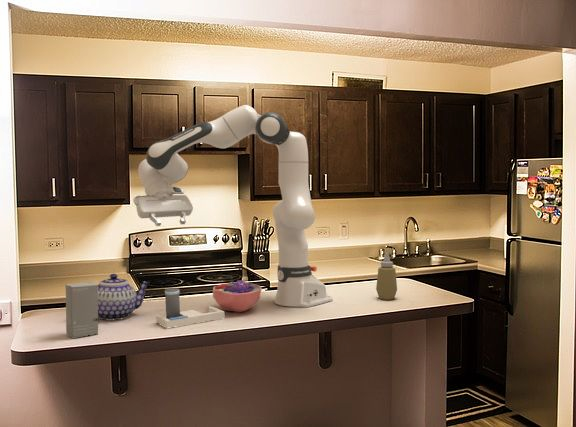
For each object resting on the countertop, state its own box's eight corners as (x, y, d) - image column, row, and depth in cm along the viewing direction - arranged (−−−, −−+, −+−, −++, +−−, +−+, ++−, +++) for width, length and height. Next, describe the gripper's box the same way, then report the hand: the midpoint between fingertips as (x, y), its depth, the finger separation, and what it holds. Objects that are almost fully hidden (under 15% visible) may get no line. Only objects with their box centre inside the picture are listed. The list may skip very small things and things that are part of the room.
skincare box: (72, 339, 179) (70, 287, 178) (65, 333, 185) (63, 283, 184) (100, 334, 184) (98, 284, 183) (92, 329, 190) (91, 280, 188)
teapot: (77, 326, 194) (75, 280, 192) (74, 315, 208) (73, 272, 206) (155, 318, 203) (154, 274, 202) (147, 308, 217) (146, 267, 216)
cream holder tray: (212, 313, 209) (212, 305, 209) (224, 318, 202) (224, 310, 202) (156, 323, 197) (156, 314, 197) (166, 328, 190) (166, 319, 190)
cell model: (250, 302, 226) (250, 272, 225) (268, 314, 208) (268, 282, 207) (206, 306, 220) (206, 276, 219) (221, 319, 202) (221, 286, 201)
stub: (177, 319, 200) (175, 287, 199) (183, 322, 196) (181, 289, 195) (163, 322, 197) (162, 289, 196) (169, 325, 193) (168, 292, 192)
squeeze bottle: (397, 301, 226) (397, 254, 225) (375, 300, 227) (376, 254, 226) (396, 296, 234) (397, 251, 233) (376, 295, 235) (376, 250, 234)
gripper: (134, 190, 210) (145, 220, 202) (187, 188, 221) (199, 216, 214) (129, 202, 214) (140, 231, 206) (182, 200, 225) (194, 227, 218)
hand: (171, 224), depth 210 cm, fingers open, 8 cm apart
